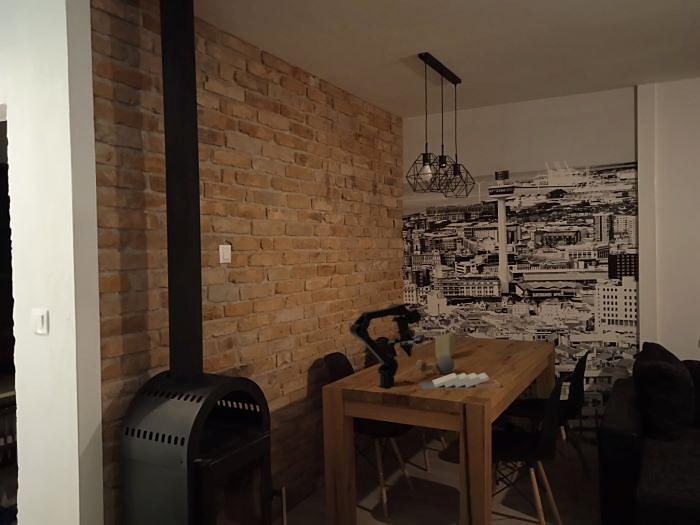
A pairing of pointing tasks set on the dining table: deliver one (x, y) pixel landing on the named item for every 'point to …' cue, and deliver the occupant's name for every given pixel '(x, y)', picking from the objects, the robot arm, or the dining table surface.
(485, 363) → the dining table surface
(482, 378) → the tile
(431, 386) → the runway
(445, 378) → the tile
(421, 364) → the lion figurine
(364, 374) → the dining table surface
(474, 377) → the tile
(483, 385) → the tile
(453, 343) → the cheese
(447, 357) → the decorative ball
